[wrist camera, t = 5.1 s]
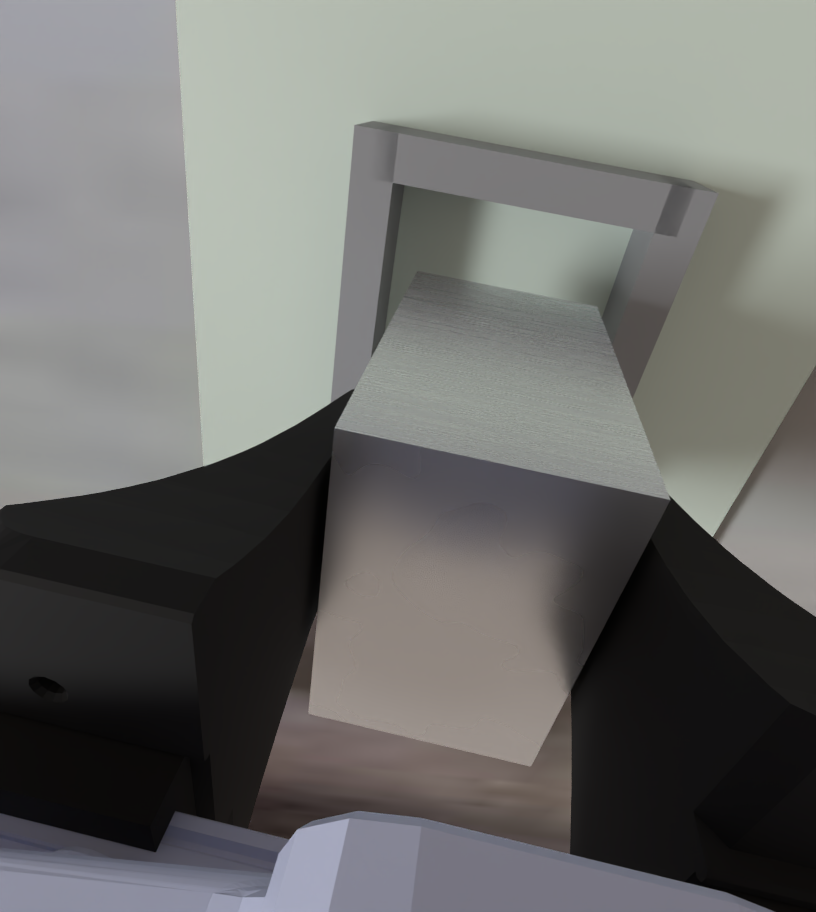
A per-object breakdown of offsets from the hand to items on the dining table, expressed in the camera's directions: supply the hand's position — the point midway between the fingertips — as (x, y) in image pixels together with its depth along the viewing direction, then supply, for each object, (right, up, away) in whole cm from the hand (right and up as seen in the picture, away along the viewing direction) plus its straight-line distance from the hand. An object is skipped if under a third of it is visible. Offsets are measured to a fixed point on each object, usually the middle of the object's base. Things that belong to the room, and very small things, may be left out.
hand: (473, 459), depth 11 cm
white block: (0, +1, +3) cm, 3 cm away
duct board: (+1, +4, +6) cm, 7 cm away
